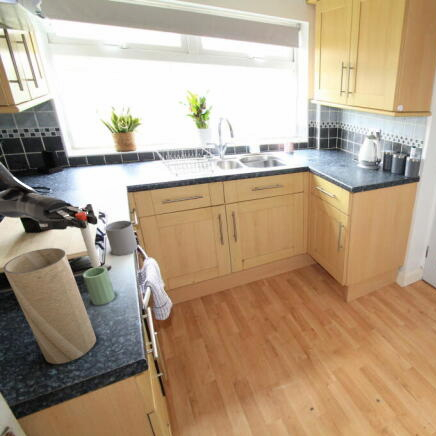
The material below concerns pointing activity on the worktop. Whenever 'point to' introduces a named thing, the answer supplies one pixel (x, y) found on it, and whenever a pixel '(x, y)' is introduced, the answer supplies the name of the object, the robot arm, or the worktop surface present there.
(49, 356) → the tube
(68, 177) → the worktop surface
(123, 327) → the worktop surface
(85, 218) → the marker
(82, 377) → the worktop surface
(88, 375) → the worktop surface
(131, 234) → the cup
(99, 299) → the green pencil holder
